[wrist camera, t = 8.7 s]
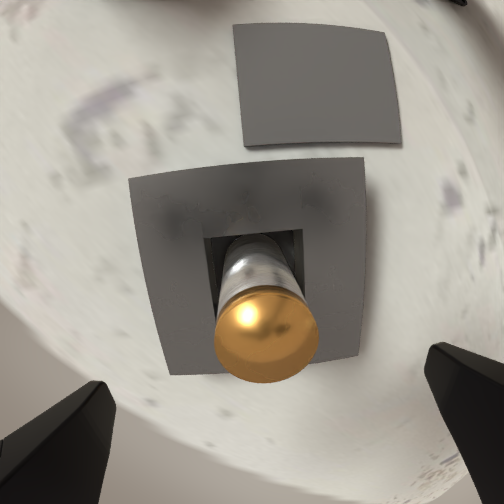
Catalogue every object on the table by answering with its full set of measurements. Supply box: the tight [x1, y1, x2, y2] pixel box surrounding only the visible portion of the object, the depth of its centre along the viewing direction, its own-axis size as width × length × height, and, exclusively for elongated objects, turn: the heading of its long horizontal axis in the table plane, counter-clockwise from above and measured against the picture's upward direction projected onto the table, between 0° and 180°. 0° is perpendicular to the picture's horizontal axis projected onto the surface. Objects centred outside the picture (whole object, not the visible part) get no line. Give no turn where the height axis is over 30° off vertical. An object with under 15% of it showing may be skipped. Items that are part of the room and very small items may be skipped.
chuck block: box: [128, 157, 366, 375], centre depth 17 cm, size 12×12×3 cm
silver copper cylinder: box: [214, 233, 319, 383], centre depth 14 cm, size 4×4×9 cm
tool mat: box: [233, 23, 402, 147], centre depth 15 cm, size 10×8×1 cm
